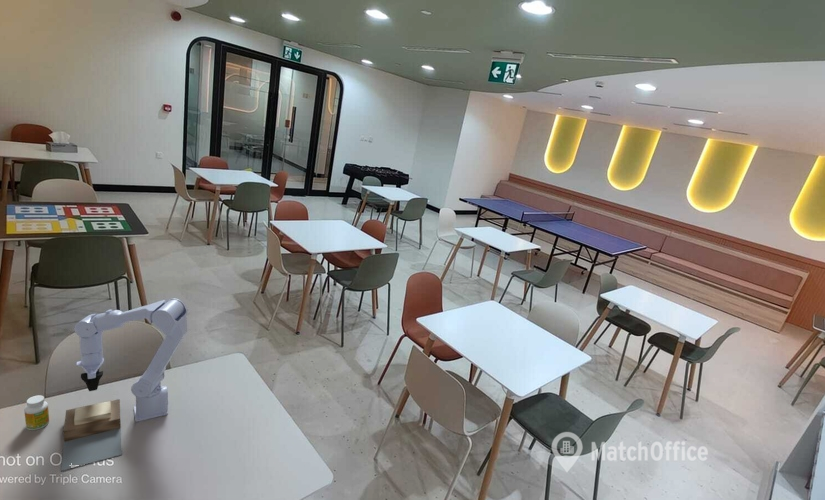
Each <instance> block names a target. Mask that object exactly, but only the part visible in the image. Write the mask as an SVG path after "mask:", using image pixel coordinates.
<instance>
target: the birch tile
mask: <svg viewBox="0 0 825 500" xmlns="http://www.w3.org/2000/svg"><path fill="white" fill-rule="evenodd" d="M111 401H112V400H109V401H105V402H104V401H103V402H98V403H94V404H89V405H85V406H84V405H83V406H80V407H75V417H74V425H80V424H84V423H89V422H93V421H98V420H102V419H107V418H111Z"/></svg>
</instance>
